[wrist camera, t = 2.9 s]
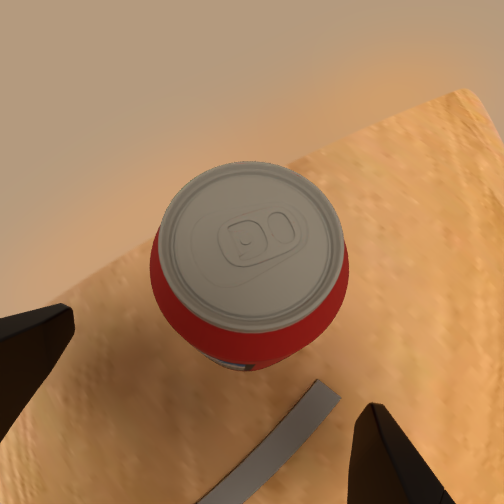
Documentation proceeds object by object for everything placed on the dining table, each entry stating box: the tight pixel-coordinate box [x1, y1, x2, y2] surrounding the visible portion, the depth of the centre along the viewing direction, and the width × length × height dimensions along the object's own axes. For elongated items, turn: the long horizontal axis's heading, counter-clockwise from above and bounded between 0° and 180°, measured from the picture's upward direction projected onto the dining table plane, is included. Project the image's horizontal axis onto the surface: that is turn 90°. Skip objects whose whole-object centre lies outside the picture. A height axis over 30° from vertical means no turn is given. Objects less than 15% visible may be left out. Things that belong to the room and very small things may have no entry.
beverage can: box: [150, 161, 349, 371], centre depth 14 cm, size 7×7×12 cm
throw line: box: [196, 380, 341, 504], centre depth 15 cm, size 19×2×1 cm, turn 139°
